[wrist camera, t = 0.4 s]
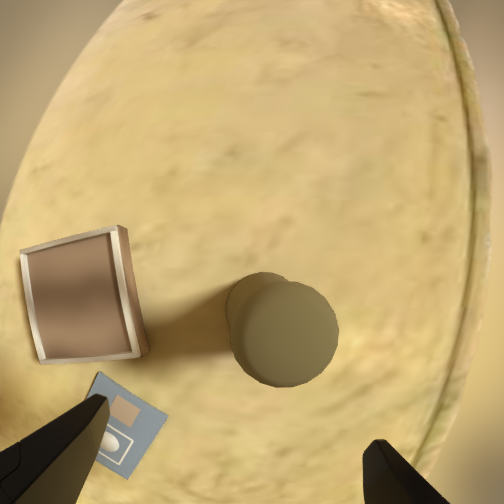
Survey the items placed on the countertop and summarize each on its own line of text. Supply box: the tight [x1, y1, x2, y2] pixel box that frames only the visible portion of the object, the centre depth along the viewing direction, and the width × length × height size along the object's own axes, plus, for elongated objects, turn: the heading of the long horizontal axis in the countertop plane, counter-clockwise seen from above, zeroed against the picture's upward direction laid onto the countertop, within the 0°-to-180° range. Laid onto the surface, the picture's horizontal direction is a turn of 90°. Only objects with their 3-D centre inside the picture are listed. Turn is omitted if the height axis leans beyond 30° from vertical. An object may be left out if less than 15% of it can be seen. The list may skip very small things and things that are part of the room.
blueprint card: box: [87, 372, 168, 480], centre depth 21 cm, size 10×7×1 cm
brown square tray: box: [20, 225, 150, 364], centre depth 21 cm, size 10×10×3 cm
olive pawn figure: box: [226, 272, 339, 388], centre depth 18 cm, size 6×6×11 cm
